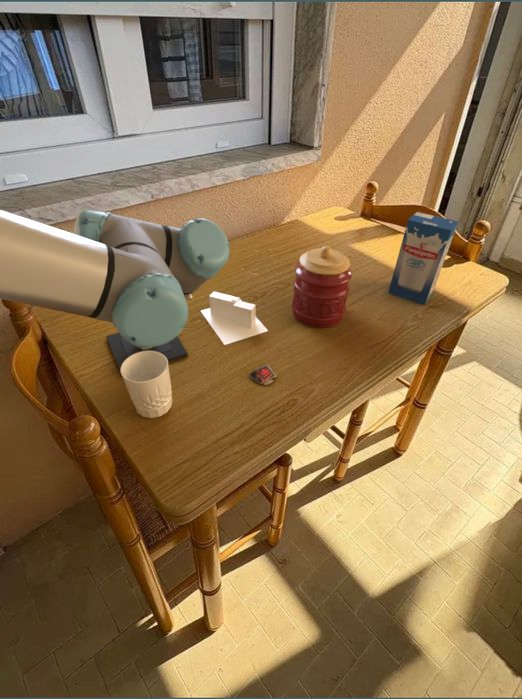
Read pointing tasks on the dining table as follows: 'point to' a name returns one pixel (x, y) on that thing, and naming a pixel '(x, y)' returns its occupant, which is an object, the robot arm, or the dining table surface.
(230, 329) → the napkin holder
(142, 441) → the dining table surface
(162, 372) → the white cup
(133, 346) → the rubber pad
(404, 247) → the milk carton
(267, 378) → the matchbox
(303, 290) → the kitchen canister
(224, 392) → the dining table surface
